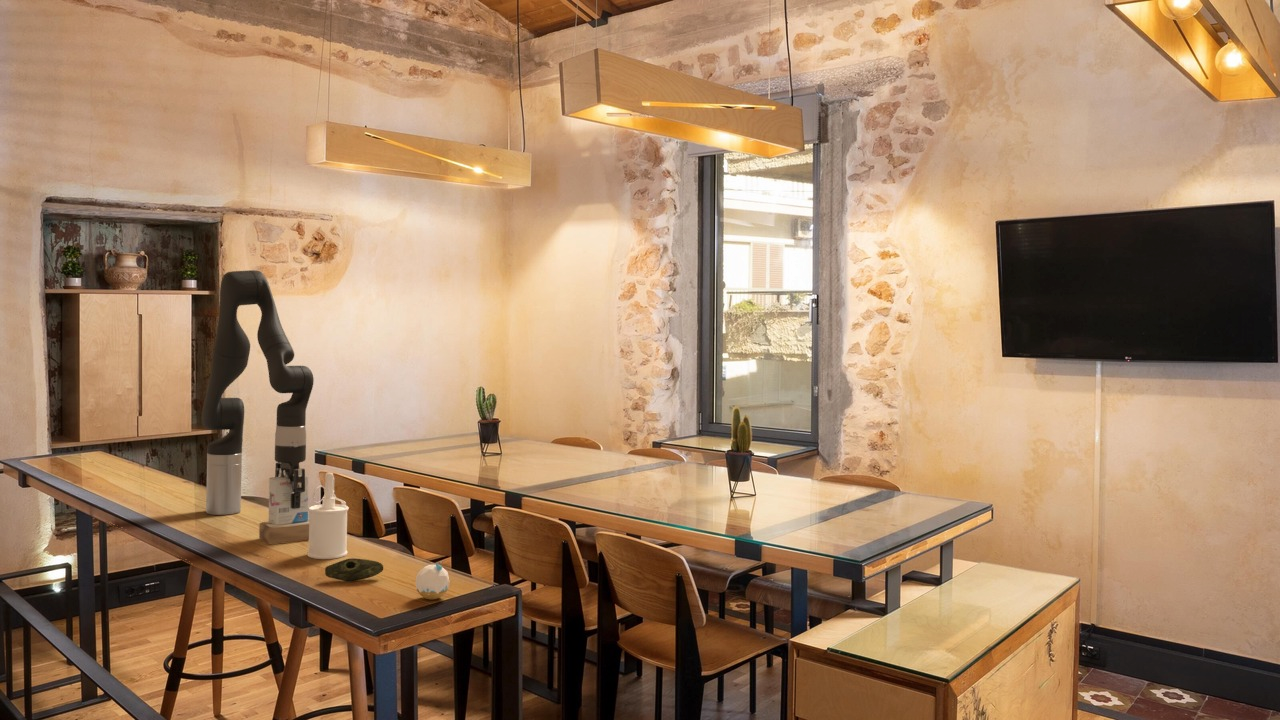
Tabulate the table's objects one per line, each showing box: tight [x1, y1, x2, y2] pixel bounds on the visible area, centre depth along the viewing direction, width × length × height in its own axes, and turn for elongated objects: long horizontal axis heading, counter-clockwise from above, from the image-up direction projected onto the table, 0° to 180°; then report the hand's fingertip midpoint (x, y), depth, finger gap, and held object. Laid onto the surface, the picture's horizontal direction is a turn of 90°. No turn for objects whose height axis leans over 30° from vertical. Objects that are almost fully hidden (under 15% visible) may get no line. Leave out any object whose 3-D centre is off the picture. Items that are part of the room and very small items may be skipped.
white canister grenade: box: [307, 471, 350, 560], centre depth 227 cm, size 10×9×20 cm
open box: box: [258, 518, 309, 545], centre depth 241 cm, size 8×12×4 cm, turn 131°
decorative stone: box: [324, 558, 384, 583], centre depth 205 cm, size 11×8×5 cm
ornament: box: [415, 561, 451, 601], centre depth 193 cm, size 7×7×8 cm
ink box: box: [268, 475, 309, 525], centre depth 241 cm, size 9×5×12 cm, turn 133°
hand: (289, 505), depth 241 cm, fingers open, 8 cm apart
